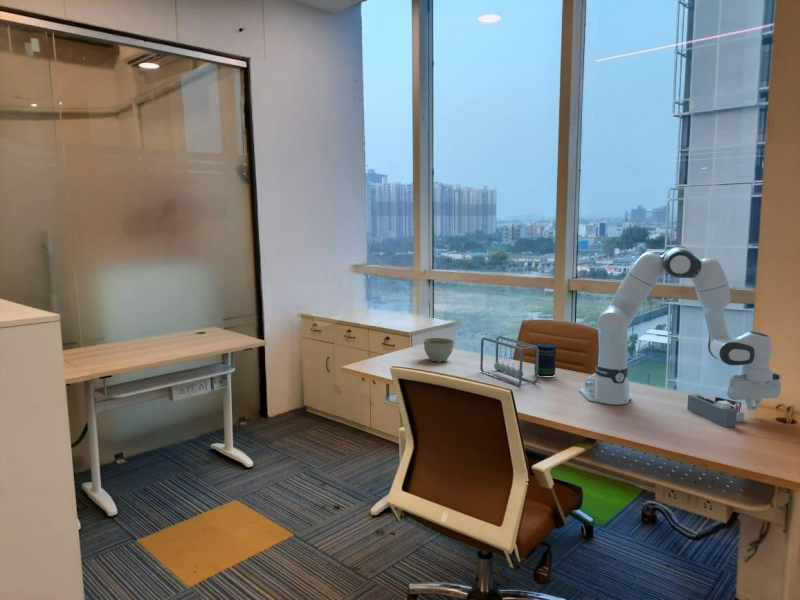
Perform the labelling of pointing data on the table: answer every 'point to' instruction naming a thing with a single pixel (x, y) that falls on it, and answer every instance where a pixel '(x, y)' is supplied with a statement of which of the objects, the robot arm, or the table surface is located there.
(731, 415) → the charging dock
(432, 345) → the planter bowl
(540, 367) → the storage jar
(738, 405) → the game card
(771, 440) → the table surface
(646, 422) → the table surface
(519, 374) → the newton's cradle
